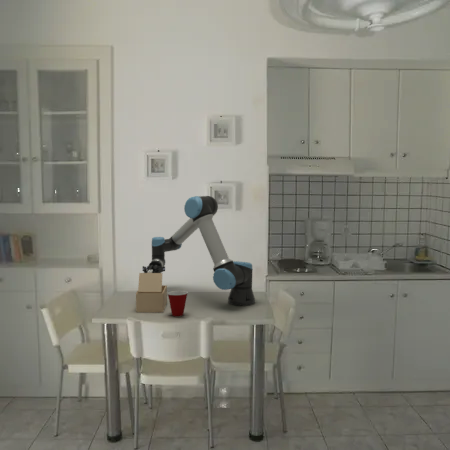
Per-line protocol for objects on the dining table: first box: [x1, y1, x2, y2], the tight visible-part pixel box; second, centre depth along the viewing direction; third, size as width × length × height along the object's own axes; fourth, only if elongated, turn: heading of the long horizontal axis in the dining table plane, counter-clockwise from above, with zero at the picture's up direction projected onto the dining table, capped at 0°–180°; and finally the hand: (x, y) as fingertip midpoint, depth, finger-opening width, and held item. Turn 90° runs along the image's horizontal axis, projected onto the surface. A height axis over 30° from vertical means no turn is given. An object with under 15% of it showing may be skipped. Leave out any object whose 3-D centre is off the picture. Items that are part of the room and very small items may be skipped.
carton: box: [135, 284, 168, 313], centre depth 250 cm, size 14×18×10 cm
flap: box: [137, 272, 163, 292], centre depth 243 cm, size 12×1×10 cm, turn 91°
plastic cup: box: [167, 290, 189, 317], centre depth 237 cm, size 11×11×12 cm
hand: (149, 274), depth 245 cm, fingers closed, pressing on flap
